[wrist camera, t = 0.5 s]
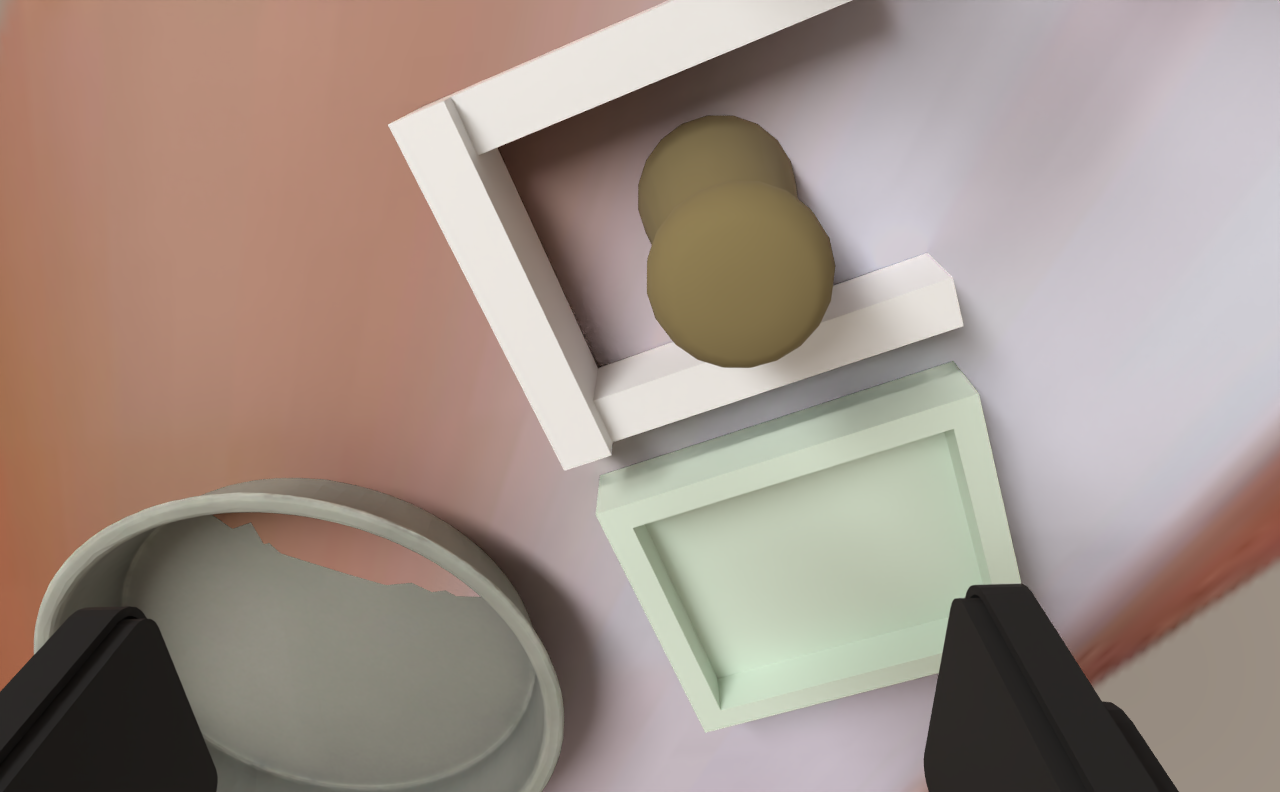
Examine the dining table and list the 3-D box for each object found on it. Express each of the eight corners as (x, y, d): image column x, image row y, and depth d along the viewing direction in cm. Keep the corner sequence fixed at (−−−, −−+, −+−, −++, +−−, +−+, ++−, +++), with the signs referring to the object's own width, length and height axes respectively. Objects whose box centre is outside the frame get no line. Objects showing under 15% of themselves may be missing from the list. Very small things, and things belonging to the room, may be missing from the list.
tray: (952, 361, 34) (978, 393, 31) (1010, 603, 39) (1035, 648, 37) (599, 475, 36) (595, 514, 34) (702, 685, 42) (705, 732, 40)
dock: (849, -79, 26) (879, -88, 23) (938, 297, 32) (973, 336, 29) (420, 107, 29) (388, 124, 26) (573, 421, 35) (564, 470, 32)
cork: (679, 298, 32) (689, 433, 23) (609, 161, 30) (587, 247, 20) (820, 232, 31) (895, 346, 21) (758, 84, 29) (812, 135, 19)
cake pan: (650, 726, 44) (650, 801, 40) (289, 843, 49) (257, 920, 45) (403, 359, 34) (370, 410, 30) (-16, 554, 39) (-92, 619, 35)
